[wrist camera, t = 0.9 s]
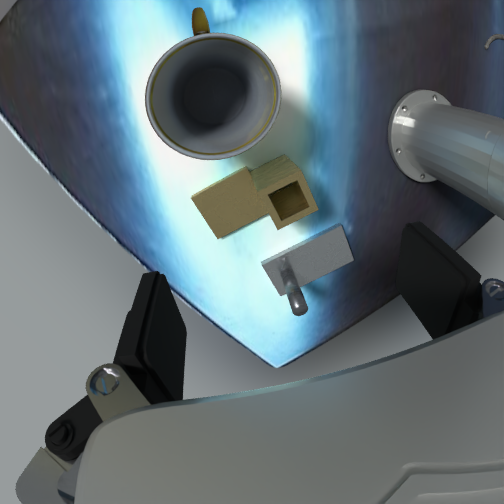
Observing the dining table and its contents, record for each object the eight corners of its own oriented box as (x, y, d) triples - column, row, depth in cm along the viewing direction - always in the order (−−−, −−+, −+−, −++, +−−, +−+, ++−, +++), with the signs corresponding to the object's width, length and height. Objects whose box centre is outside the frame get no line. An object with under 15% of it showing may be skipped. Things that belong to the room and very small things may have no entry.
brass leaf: (281, 148, 31) (297, 162, 25) (302, 192, 34) (321, 216, 28) (191, 195, 33) (185, 220, 27) (217, 236, 35) (218, 267, 29)
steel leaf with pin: (339, 222, 36) (365, 254, 29) (351, 257, 39) (376, 292, 32) (260, 261, 38) (270, 301, 31) (279, 292, 41) (291, 333, 34)
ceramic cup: (268, 132, 30) (289, 148, 21) (177, 149, 30) (160, 173, 21) (250, 21, 23) (264, -8, 15) (155, 40, 23) (129, 18, 14)
